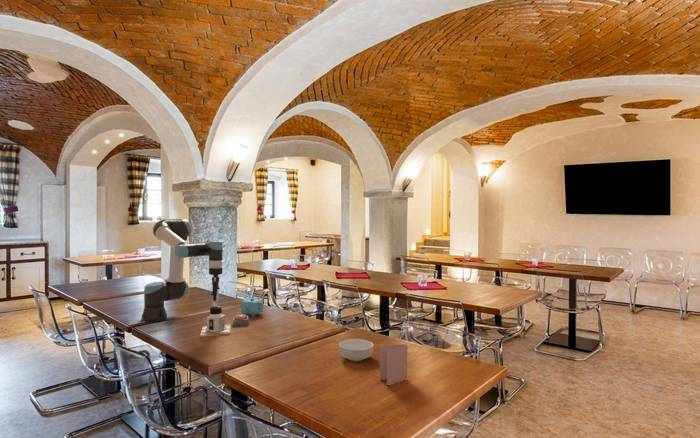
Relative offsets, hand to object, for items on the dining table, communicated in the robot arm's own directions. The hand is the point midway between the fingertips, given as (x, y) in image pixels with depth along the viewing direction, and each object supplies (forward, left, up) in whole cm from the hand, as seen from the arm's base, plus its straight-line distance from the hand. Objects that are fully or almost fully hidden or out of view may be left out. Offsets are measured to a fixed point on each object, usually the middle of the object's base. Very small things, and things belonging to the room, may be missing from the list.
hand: (215, 303), depth 247 cm
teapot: (-34, +22, -17) cm, 44 cm away
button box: (-13, +14, -16) cm, 25 cm away
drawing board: (0, 0, -16) cm, 16 cm away
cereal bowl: (+62, +68, -17) cm, 94 cm away
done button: (-13, +14, -14) cm, 23 cm away
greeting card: (+93, +76, -16) cm, 122 cm away
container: (0, 0, -15) cm, 15 cm away
